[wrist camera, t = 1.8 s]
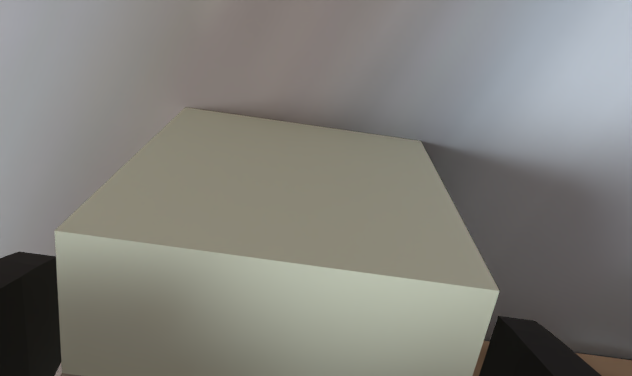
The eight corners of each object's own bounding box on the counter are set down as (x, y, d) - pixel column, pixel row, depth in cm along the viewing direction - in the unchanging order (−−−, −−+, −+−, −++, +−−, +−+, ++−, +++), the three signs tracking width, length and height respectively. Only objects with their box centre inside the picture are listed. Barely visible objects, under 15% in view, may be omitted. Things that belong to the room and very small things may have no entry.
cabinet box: (365, 382, 12) (393, 711, 7) (174, 358, 12) (46, 675, 7) (420, 140, 10) (526, 341, 5) (186, 106, 10) (9, 273, 5)
